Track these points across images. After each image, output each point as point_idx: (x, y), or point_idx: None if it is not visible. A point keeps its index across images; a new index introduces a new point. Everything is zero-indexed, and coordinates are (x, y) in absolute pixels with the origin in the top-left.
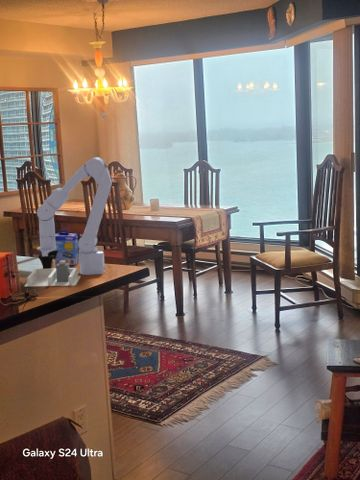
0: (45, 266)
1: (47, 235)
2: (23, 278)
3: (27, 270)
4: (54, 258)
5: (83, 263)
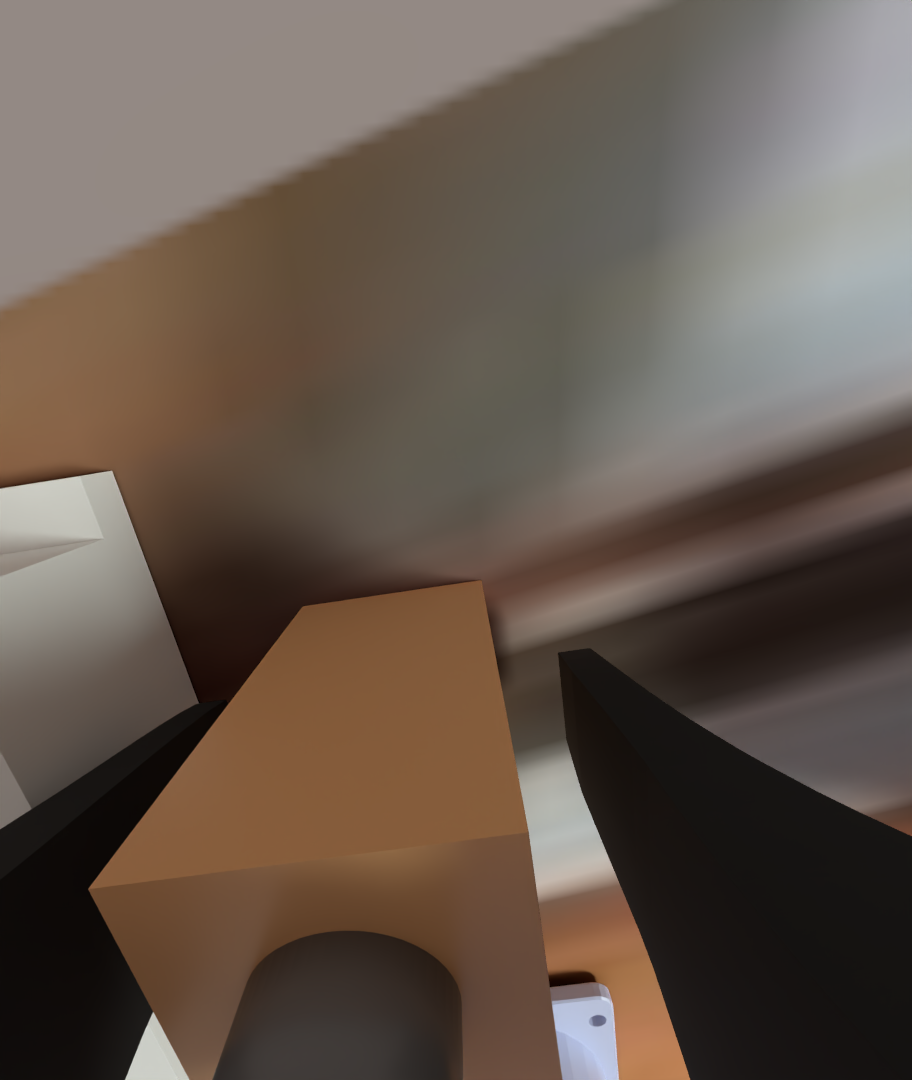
0: (76, 861)
1: None
2: (107, 259)
3: (870, 28)
4: (684, 1039)
5: None
